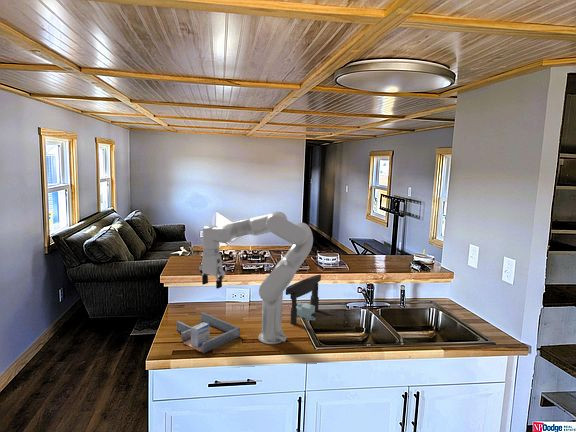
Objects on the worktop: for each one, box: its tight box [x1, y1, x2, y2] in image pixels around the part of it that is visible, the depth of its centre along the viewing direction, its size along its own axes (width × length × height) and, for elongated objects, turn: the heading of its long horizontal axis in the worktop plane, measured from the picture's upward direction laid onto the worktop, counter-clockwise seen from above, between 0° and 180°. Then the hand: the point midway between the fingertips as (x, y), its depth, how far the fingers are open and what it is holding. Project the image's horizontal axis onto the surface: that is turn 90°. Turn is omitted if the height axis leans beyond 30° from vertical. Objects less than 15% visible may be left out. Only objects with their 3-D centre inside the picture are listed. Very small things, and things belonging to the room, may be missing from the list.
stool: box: [285, 274, 322, 325], centre depth 221 cm, size 16×21×33 cm
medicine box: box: [191, 321, 211, 347], centre depth 187 cm, size 8×4×9 cm, turn 147°
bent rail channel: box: [176, 311, 241, 354], centre depth 196 cm, size 28×22×4 cm
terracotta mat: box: [182, 339, 202, 353], centre depth 188 cm, size 13×10×1 cm
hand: (212, 285), depth 195 cm, fingers open, 9 cm apart
